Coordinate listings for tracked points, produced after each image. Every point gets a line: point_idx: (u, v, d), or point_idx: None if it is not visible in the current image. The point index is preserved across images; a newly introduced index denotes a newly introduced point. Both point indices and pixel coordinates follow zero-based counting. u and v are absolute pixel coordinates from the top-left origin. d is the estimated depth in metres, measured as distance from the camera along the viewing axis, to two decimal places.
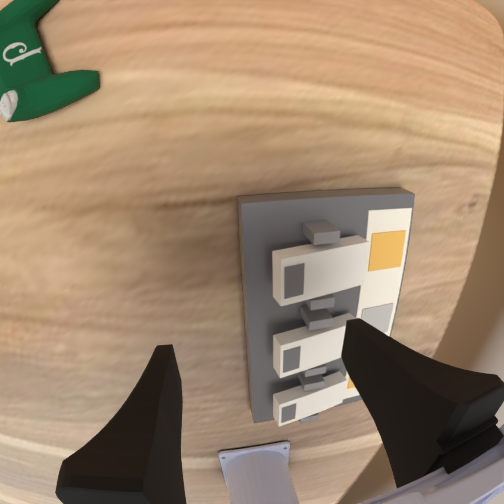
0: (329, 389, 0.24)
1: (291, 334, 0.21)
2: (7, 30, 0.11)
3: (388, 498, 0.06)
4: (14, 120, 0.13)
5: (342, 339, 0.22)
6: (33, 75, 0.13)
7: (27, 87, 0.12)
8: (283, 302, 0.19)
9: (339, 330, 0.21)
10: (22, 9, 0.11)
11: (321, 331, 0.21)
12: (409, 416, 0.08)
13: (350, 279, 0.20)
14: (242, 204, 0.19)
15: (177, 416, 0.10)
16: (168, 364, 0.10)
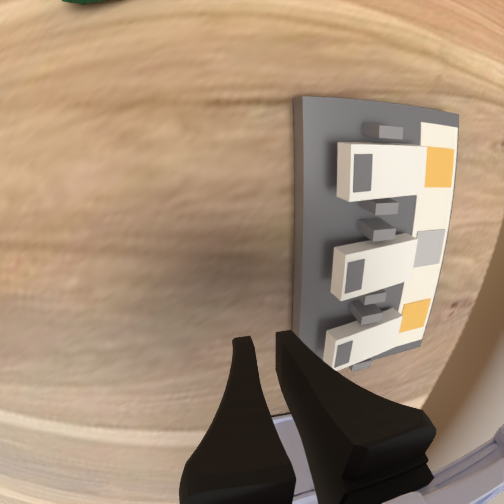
0: (385, 325, 0.21)
1: (353, 246, 0.18)
2: None
3: None
4: None
5: (403, 259, 0.19)
6: None
7: None
8: (351, 197, 0.16)
9: (401, 246, 0.19)
10: None
11: (384, 244, 0.18)
12: (322, 444, 0.08)
13: (412, 185, 0.17)
14: (303, 97, 0.16)
15: None
16: (255, 355, 0.11)
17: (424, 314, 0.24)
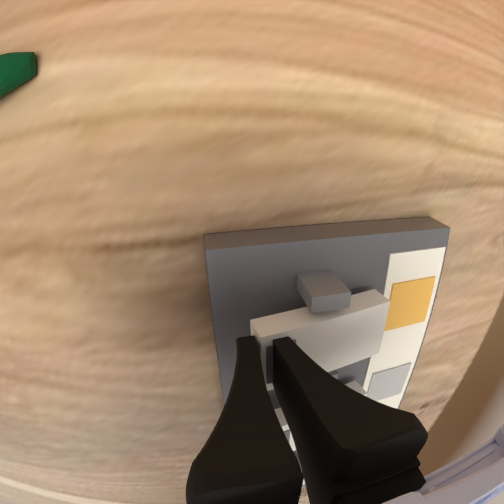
0: None
1: (278, 414, 0.15)
2: None
3: None
4: None
5: None
6: None
7: None
8: None
9: None
10: None
11: None
12: (312, 446, 0.08)
13: (361, 351, 0.14)
14: (207, 251, 0.13)
15: None
16: (259, 354, 0.11)
17: None
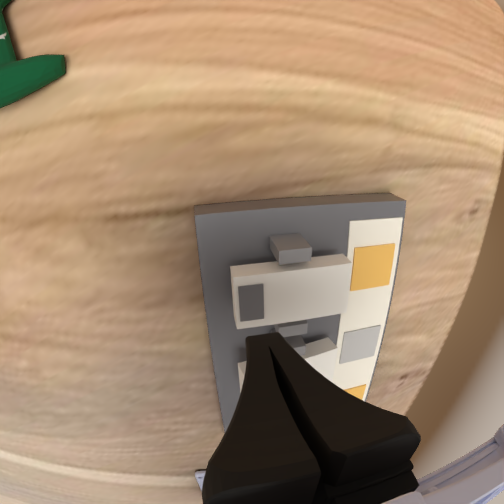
0: None
1: None
2: None
3: None
4: None
5: (319, 367, 0.19)
6: None
7: None
8: (239, 325, 0.16)
9: (315, 358, 0.18)
10: None
11: None
12: None
13: (327, 306, 0.17)
14: (196, 216, 0.16)
15: None
16: (269, 352, 0.11)
17: (359, 397, 0.24)
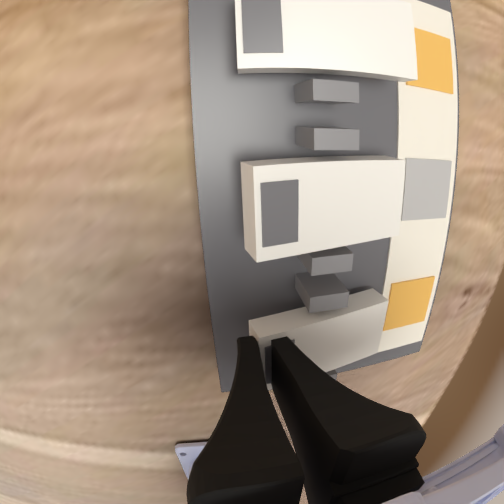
0: (358, 316, 0.13)
1: (278, 160, 0.10)
2: None
3: None
4: None
5: (381, 193, 0.11)
6: None
7: None
8: (242, 61, 0.09)
9: (374, 167, 0.10)
10: None
11: (339, 159, 0.10)
12: (311, 446, 0.08)
13: (386, 57, 0.08)
14: None
15: None
16: (260, 354, 0.11)
17: (425, 302, 0.15)
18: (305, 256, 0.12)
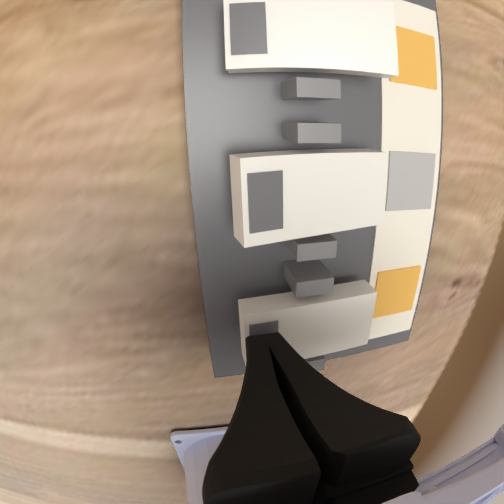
0: (344, 304, 0.13)
1: (264, 153, 0.11)
2: None
3: None
4: None
5: (363, 184, 0.12)
6: None
7: None
8: (230, 62, 0.09)
9: (356, 159, 0.11)
10: None
11: (322, 152, 0.11)
12: None
13: (367, 55, 0.09)
14: None
15: None
16: (269, 352, 0.11)
17: (411, 291, 0.16)
18: (291, 243, 0.13)
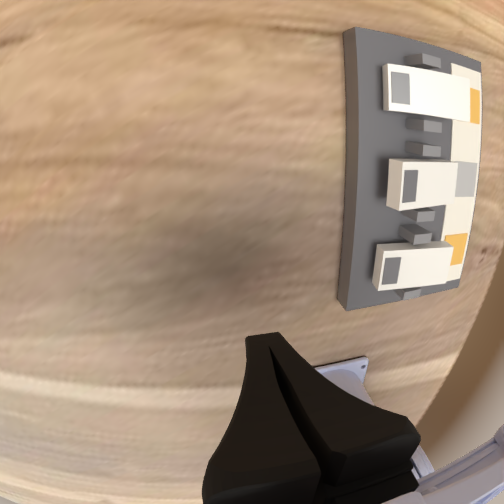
0: (435, 252, 0.20)
1: (406, 159, 0.18)
2: None
3: None
4: None
5: (447, 179, 0.19)
6: None
7: None
8: (391, 106, 0.17)
9: (445, 166, 0.18)
10: None
11: (431, 161, 0.18)
12: None
13: (455, 110, 0.16)
14: (356, 27, 0.16)
15: None
16: (269, 352, 0.11)
17: (462, 250, 0.23)
18: (411, 212, 0.20)
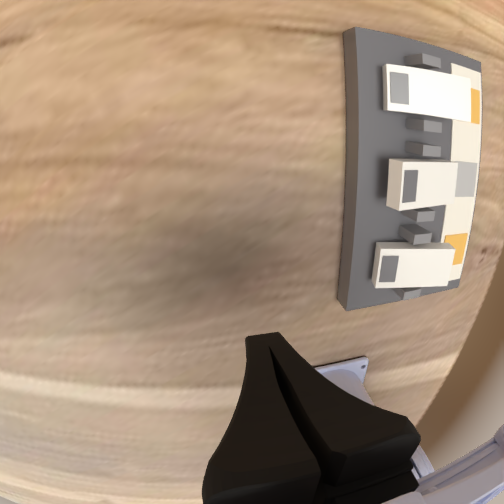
0: (435, 253, 0.20)
1: (406, 159, 0.18)
2: None
3: None
4: None
5: (447, 179, 0.19)
6: None
7: None
8: (390, 107, 0.17)
9: (445, 166, 0.18)
10: None
11: (431, 161, 0.18)
12: None
13: (456, 110, 0.16)
14: (356, 27, 0.16)
15: None
16: (269, 352, 0.11)
17: (462, 250, 0.23)
18: (411, 212, 0.20)
